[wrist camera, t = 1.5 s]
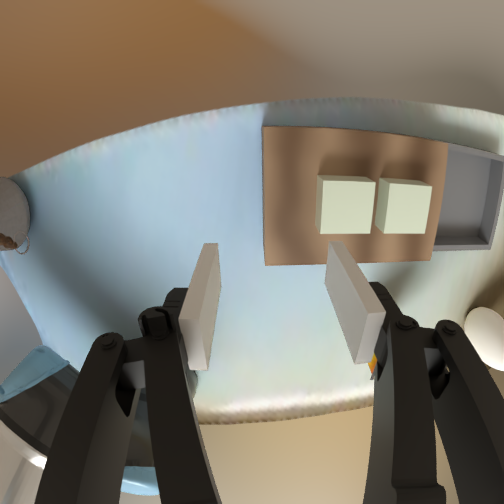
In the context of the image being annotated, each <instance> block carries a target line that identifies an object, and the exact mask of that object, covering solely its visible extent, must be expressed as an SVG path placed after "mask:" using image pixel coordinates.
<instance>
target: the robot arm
mask: <svg viewBox="0 0 504 504" xmlns="http://www.w3.org/2000/svg"><path fill="white" fill-rule="evenodd" d="M325 286H326V288H327V291H328V293H329V296H330V299H331V301H332V304H333V306H334V309H335V312H336V314H337V317H338V320H339V322H340V325H341V328H342V331H343V333H344V336H345V339H346V342H347V344H348V347H349V350H350V353H351V356H352V359H353V362H354V364H362V363H370V362H371V360H372V357H373V354H375V356H376V358H377V362H376V365H375V368H374V370H373V373H372V376H371V379H370V380H373V378H374V407H373V423H372V424H373V425H372V436H371V447H370V457H369V465H368V473H367V480H366V487H365V494H364V499H363V504H446V491H445V489H444V487H443V486H441V485H439V484H438V483H437V477H436V475H437V472H436V471H437V470H436V440H435V426H434V419H435V422H436V425H437V428H438V430H439V434H440V436H441V439H442V443H443V446H444V449H445V452H446V455H447V459H448V462H449V465H450V469H451V472H452V476H453V480H454V483H455V487H456V491H457V495H458V499H459V504H504V399H503V397H502V395H501V393H500V391H499V389H498V387H497V385H496V384H495V382H494V380H493V378H492V377H491V375H490V373H489V371H488V370H487V368H486V366H485V364H484V363H483V361H482V359H481V358H480V356H479V354H478V353H477V351H476V350H475V348H474V346H473V345H472V343H471V342H470V340H469V339H468V337H467V336H466V334H465V332H464V331H463V329H462V328H461V327H460V326H459V325H458V324H457V323H455V322H454V321H451V320H441V321H439V322H438V323H437V324H436V327H435V329H431V328H423V327H419V324H418V322H417V321H416V320H415V319H413V318H411V317H409V316H406V315H403V314H402V312H401V311H400V309H399V308H398V306H397V304H396V303H395V301H394V300H393V298H392V297H391V295H389V292H388V291H387V289H386V288H385V287H384V286H383V285H381V284H380V283H379V282H368V281H367V279H366V278H365V276H364V274H363V273H362V271H361V270H360V268H359V266H358V265H357V263H356V262H355V260H354V259H353V257H352V255H351V254H350V252H349V251H348V249H347V248H346V246H345V245H344V243H343V242H342V241H329V247H328V257H327V267H326V276H325ZM220 291H221V277H220V265H219V253H218V243H204V245H203V248H202V250H201V253H200V256H199V259H198V262H197V265H196V268H195V270H194V273H193V276H192V279H191V282H190V285H189V288H174V289H172V290H171V291H170V292H169V293H168V294H167V297H166V299H165V302H164V304H163V307H161V306H160V307H152V308H148V309H146V310H145V311H143V312H142V313H141V314H140V315H139V317H138V322H139V325H140V329H141V332H142V335H143V337H141V338H138V339H133V340H127V341H124V339H123V337H122V336H121V335H120V334H118V333H114V332H111V333H105V334H103V335H101V336H99V337H98V338H97V339H96V340H95V341H94V343H93V345H92V347H91V349H90V351H89V353H88V355H87V358H86V360H85V362H84V364H83V366H82V369H81V371H80V372H79V371H78V370H76V369H75V368H74V367H73V366H71V365H70V364H69V363H70V362H69V361H68V360H64V359H63V358H62V357H61V356H59V355H58V354H57V353H56V352H54V351H53V350H52V349H51V348H49V347H47V346H44V345H40V346H37V347H35V348H34V349H33V350H32V351H31V352H30V353H29V354H28V355H27V356H26V357H25V358H24V359H23V360H22V361H21V362H20V363H19V364H18V366H17V367H16V368H15V369H14V370H13V371H12V372H11V373H10V375H9V376H8V377H7V378H6V379H5V380H4V381H3V383H2V384H1V385H0V504H119V498H120V492H126V493H132V494H138V495H157V494H160V499H161V504H222V502H221V499H220V496H219V493H218V490H217V487H216V484H215V481H214V477H213V474H212V470H211V467H210V464H209V460H208V457H207V453H206V450H205V446H204V442H203V439H202V435H201V431H200V427H199V423H198V419H197V415H196V411H195V407H194V402H193V398H194V396H195V393H196V388H197V377H196V374H195V372H194V371H193V370H203V371H208V367H209V360H210V353H211V347H212V340H213V334H214V328H215V321H216V315H217V309H218V303H219V297H220ZM187 363H188V364H187ZM447 366H448V368H449V371H450V372H448V370H447ZM374 376H375V377H374Z"/></svg>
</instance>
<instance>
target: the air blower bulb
mask: <svg viewBox="0 0 504 504" xmlns="http://www.w3.org/2000/svg"><path fill="white" fill-rule="evenodd" d="M464 330H465V334H466V336H467V337H468V339H469V340H470V342H471V343H472V345H473V346H474V348H475V350H476V351H477V353H478V354H479V356H480V358H481V359H482V361H483V362H485V363H486V364H487V365H489V366H491V367H493V368H495V369H498V370H501V371H504V319H503V318H502V317H501V316H500V315H499V314H498V313H496V312H495V311H493V310H491V309H489V308H485V307H478V308H475V309H473V310H471V311H470V312H469V314H468V315H467V317H466V321H465V324H464Z"/></svg>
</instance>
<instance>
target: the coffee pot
mask: <svg viewBox="0 0 504 504" xmlns="http://www.w3.org/2000/svg"><path fill="white" fill-rule="evenodd" d="M29 227H30V210H29V204H28V201H27V198H26V196H25V194H24V193H23V191H22V190H21V189H20V187H19V186H18V185H17V184H16V183H15V182H14V181H12V180H11V179H8V178H5V177H0V251H5V250H13V249H15V250H16V251H17V248H18V247H19V246H21V245H22V244H23V242H24V240H25V239H26V237H27V239H28V247H27V250H26V251H25V252H24V253H20V252H18V251H17V252H18V253H19V254H25V253H26V252H27V251H28V248H29V238H28V236H27V234H28V231H29Z"/></svg>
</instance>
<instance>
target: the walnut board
mask: <svg viewBox="0 0 504 504" xmlns="http://www.w3.org/2000/svg"><path fill="white" fill-rule="evenodd" d="M447 155H448V143H444V142H440V141H435V140H431V139H426V138H421V137H415V136H409V135H402V134H394V133H387V132H378V131H369V130H358V129H346V128H332V127H312V126H262V182H263V246H264V258H265V266H273V265H313V264H327V257H328V247H329V241H342V242H343V243H344V245H345V246H346V248H347V249H348V251H349V252H350V254H351V255H352V257H353V259H354V260H355V262H356V263H377V262H404V261H429V260H430V259H431V255H432V251H433V246H434V242H435V237H436V232H437V227H438V222H439V216H440V210H441V204H442V198H443V191H444V183H445V175H446V166H447ZM317 175H336V176H361V177H367V178H369V179H371V180H372V181H374V182H376V184H375V195H374V205H373V214H372V222H371V230H370V234H320V233H319V231H318V229H317V227H316V225H315V216H316V196H317ZM379 178H394V179H406V180H418V181H422V182H424V183H426V184H428V185H430V186H432V192H431V199H430V206H429V212H428V218H427V224H426V229H425V234H396V233H392V234H384V233H383V232H382V231H381V230H380V229H379V228H378V227H377V226H376V225H375V217H376V209H377V199H378V189H379Z"/></svg>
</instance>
